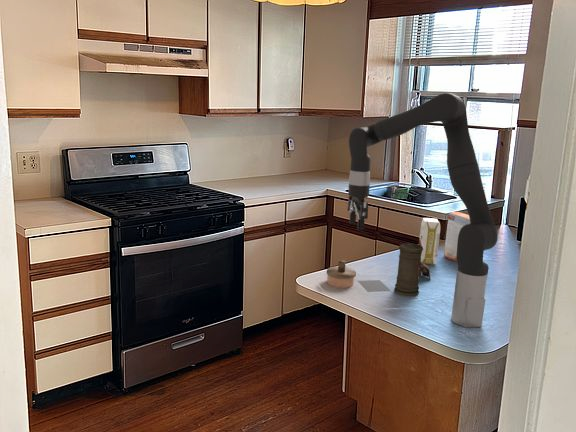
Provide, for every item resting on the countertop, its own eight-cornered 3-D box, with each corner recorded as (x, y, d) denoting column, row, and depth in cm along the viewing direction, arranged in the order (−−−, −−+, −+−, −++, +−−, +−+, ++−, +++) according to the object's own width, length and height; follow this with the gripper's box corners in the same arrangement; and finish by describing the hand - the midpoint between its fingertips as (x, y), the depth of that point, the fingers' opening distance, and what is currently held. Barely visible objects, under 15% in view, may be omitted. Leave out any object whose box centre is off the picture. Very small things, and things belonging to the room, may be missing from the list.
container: (400, 298, 192) (406, 250, 187) (389, 288, 200) (394, 242, 196) (423, 296, 194) (428, 249, 190) (411, 287, 202) (416, 242, 198)
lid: (360, 278, 198) (361, 265, 196) (331, 279, 195) (332, 266, 194) (350, 268, 208) (351, 256, 207) (323, 269, 206) (324, 256, 204)
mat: (390, 291, 197) (390, 290, 197) (367, 292, 195) (367, 291, 195) (379, 281, 208) (379, 280, 207) (357, 281, 206) (357, 280, 206)
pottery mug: (434, 284, 209) (427, 268, 205) (411, 292, 211) (404, 276, 208) (428, 267, 219) (422, 251, 216) (406, 274, 222) (400, 259, 218)
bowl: (356, 288, 199) (357, 277, 198) (331, 288, 197) (332, 278, 196) (348, 278, 208) (349, 269, 207) (324, 279, 206) (324, 269, 205)
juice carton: (433, 259, 238) (438, 218, 234) (436, 265, 230) (442, 222, 226) (416, 258, 239) (421, 217, 235) (419, 264, 231) (423, 221, 226)
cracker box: (474, 264, 234) (480, 218, 229) (463, 265, 232) (469, 219, 227) (453, 255, 246) (459, 211, 242) (443, 256, 244) (448, 211, 239)
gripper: (376, 186, 187) (373, 231, 191) (361, 180, 201) (359, 222, 204) (356, 186, 185) (353, 231, 189) (343, 180, 199) (340, 222, 202)
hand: (356, 226), depth 197 cm, fingers open, 8 cm apart
